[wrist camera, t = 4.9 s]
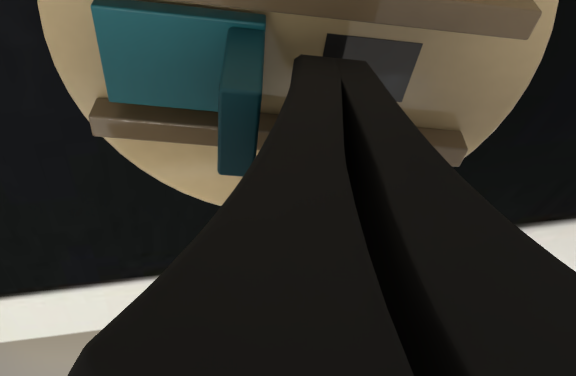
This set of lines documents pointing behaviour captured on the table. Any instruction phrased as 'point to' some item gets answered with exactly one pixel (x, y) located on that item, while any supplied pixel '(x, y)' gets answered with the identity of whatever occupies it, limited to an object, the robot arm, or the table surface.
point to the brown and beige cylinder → (327, 43)
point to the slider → (187, 66)
